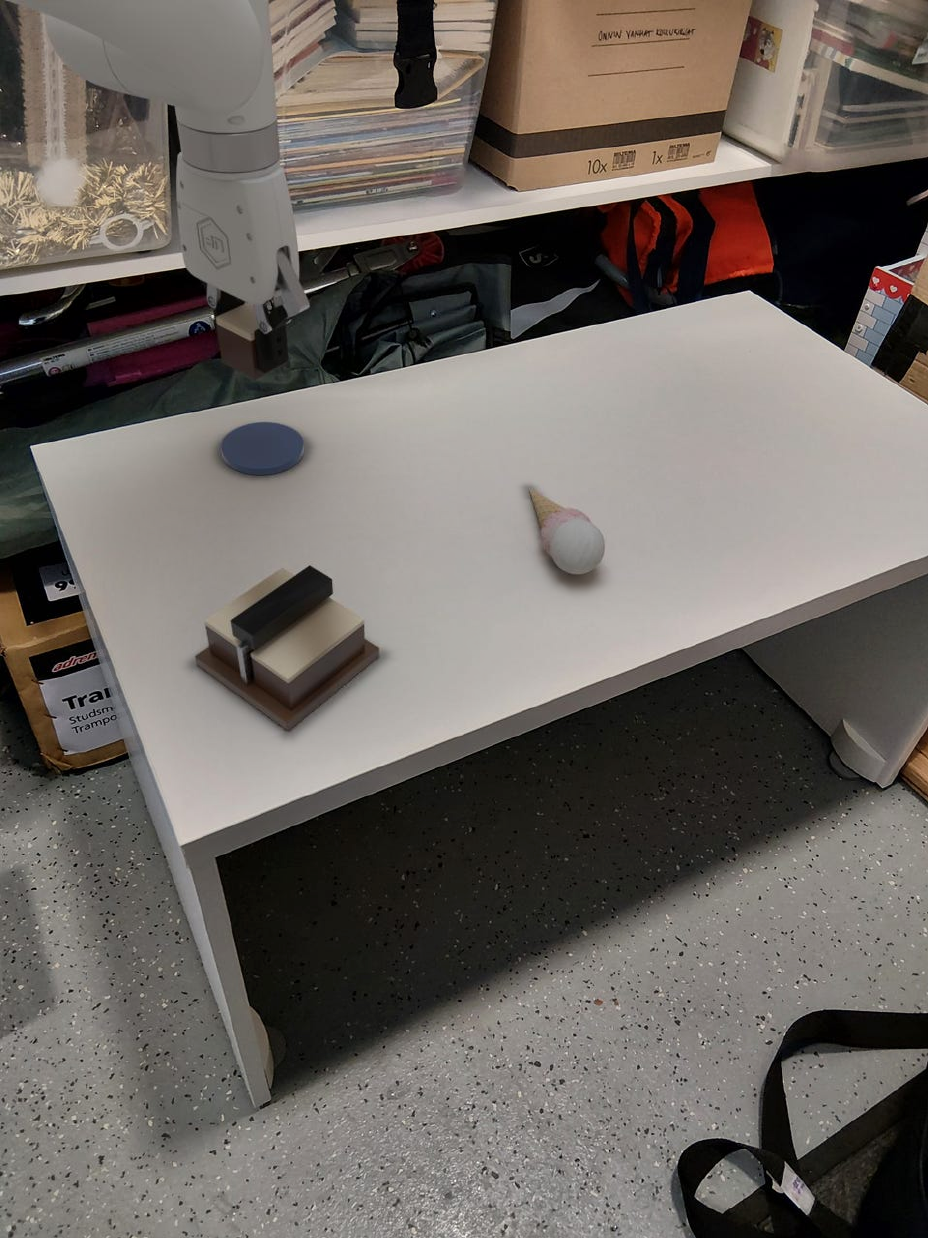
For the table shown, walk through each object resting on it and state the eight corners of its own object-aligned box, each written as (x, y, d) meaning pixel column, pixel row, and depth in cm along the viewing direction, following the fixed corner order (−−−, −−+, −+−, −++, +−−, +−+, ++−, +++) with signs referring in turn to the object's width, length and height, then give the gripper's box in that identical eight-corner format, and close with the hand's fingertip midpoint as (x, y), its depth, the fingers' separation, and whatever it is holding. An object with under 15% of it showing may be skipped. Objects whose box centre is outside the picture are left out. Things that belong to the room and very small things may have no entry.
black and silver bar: (255, 692, 69) (247, 640, 65) (233, 676, 70) (224, 623, 66) (339, 627, 75) (337, 575, 71) (317, 613, 76) (314, 561, 72)
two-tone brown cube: (255, 380, 84) (250, 334, 81) (221, 362, 86) (215, 316, 82) (287, 363, 86) (283, 317, 83) (254, 346, 88) (249, 301, 85)
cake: (288, 731, 68) (283, 691, 65) (196, 664, 72) (187, 623, 69) (379, 656, 74) (379, 615, 71) (290, 598, 78) (286, 557, 75)
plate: (261, 485, 89) (260, 478, 88) (204, 452, 92) (203, 445, 91) (320, 450, 93) (320, 443, 93) (264, 419, 97) (264, 412, 96)
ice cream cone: (497, 502, 91) (552, 575, 79) (519, 459, 89) (578, 527, 77) (537, 516, 93) (596, 590, 81) (559, 474, 91) (623, 543, 79)
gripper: (120, 125, 74) (160, 338, 87) (270, 186, 67) (289, 407, 80) (195, 105, 78) (222, 310, 91) (343, 160, 71) (350, 374, 84)
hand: (253, 353), depth 85 cm, fingers closed on two-tone brown cube, 4 cm apart
